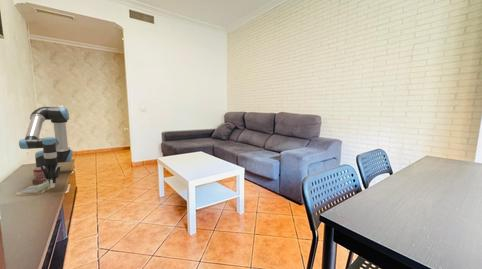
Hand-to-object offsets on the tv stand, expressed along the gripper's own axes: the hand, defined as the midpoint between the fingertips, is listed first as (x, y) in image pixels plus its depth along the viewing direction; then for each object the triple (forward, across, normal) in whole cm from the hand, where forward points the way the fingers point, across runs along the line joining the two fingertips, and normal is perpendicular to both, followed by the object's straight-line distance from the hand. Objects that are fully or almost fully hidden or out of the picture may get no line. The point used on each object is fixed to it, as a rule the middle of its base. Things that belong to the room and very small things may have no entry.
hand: (52, 187), depth 165 cm
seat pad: (+1, -14, -1) cm, 14 cm away
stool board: (+3, -13, +3) cm, 14 cm away
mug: (+4, -18, +20) cm, 27 cm away
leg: (+1, -7, +3) cm, 8 cm away
